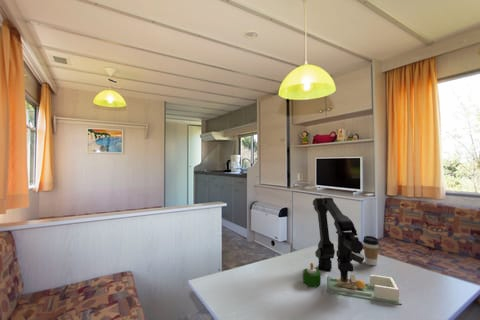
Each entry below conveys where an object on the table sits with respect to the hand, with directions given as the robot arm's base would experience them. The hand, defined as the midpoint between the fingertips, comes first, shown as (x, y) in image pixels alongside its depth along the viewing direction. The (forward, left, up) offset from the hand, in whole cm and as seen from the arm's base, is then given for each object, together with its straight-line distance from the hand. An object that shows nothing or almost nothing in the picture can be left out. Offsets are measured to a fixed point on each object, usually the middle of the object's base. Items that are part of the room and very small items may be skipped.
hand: (344, 277), depth 116 cm
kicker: (+1, 0, -4) cm, 4 cm away
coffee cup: (+17, +34, -5) cm, 38 cm away
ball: (+7, 0, -2) cm, 7 cm away
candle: (-15, -1, -5) cm, 16 cm away
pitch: (+8, 0, -4) cm, 9 cm away
